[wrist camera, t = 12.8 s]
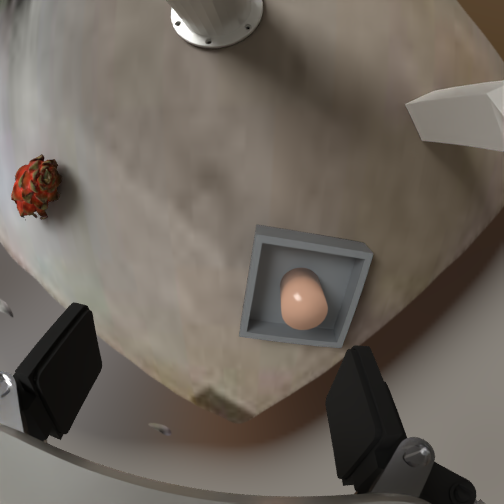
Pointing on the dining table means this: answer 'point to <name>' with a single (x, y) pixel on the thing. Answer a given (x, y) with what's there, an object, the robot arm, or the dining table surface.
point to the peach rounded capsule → (302, 299)
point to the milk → (462, 115)
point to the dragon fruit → (36, 186)
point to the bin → (322, 264)
